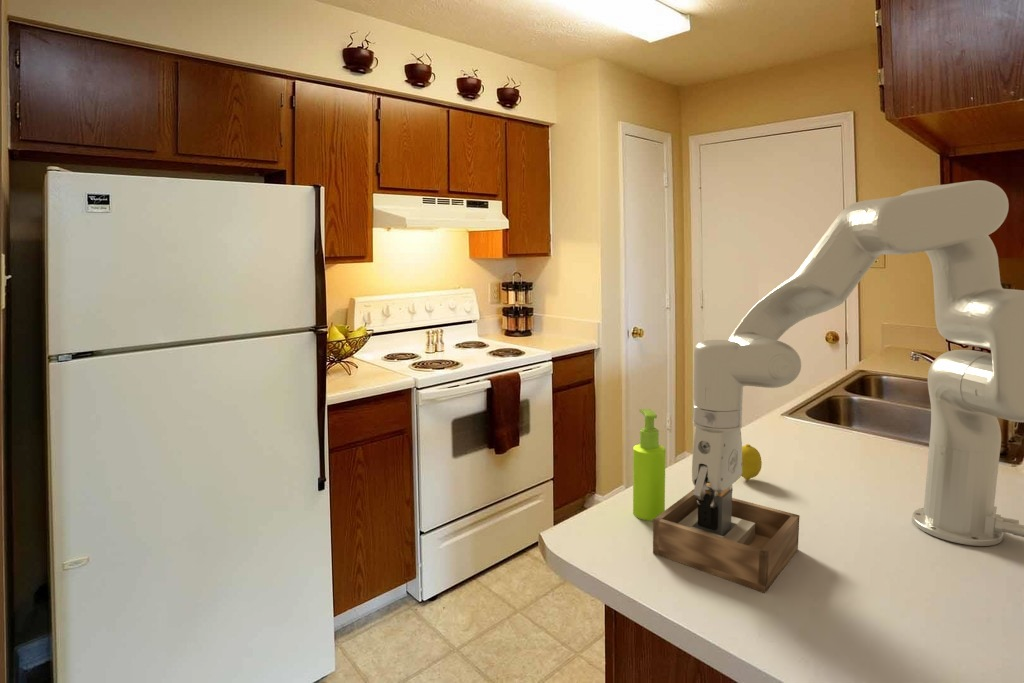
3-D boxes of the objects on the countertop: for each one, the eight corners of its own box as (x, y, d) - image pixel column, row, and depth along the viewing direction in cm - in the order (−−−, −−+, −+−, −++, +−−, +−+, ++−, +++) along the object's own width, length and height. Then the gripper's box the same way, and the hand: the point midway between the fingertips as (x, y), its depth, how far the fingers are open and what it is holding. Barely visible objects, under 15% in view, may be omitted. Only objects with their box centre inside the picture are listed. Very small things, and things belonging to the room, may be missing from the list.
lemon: (756, 475, 127) (757, 440, 126) (764, 485, 122) (765, 448, 120) (730, 474, 128) (731, 440, 126) (737, 484, 122) (738, 448, 121)
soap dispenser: (657, 504, 114) (658, 406, 111) (668, 520, 108) (670, 416, 104) (628, 505, 114) (628, 407, 111) (637, 521, 107) (637, 417, 104)
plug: (730, 540, 97) (732, 484, 96) (720, 550, 94) (722, 492, 93) (707, 533, 100) (709, 478, 98) (697, 542, 97) (698, 486, 95)
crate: (797, 549, 96) (799, 515, 95) (764, 593, 84) (766, 554, 83) (694, 518, 108) (695, 488, 107) (652, 553, 96) (653, 519, 95)
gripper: (718, 433, 85) (715, 549, 88) (759, 408, 97) (755, 510, 100) (671, 424, 90) (670, 534, 93) (715, 401, 102) (713, 498, 105)
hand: (714, 520), depth 96 cm, fingers open, 4 cm apart
